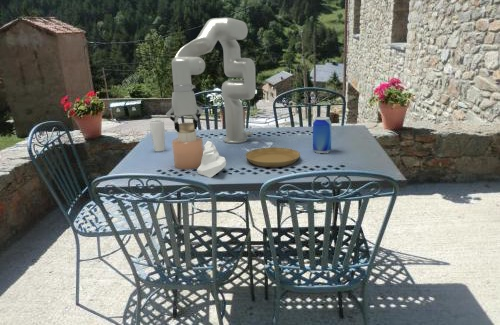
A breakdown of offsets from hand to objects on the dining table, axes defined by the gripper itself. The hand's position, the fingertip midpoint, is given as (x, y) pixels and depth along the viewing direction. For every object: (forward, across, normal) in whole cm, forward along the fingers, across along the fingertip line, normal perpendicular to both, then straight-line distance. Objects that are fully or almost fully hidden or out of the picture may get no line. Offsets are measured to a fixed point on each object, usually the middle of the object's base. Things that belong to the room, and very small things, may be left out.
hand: (186, 129), depth 183 cm
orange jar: (+16, 0, 0) cm, 16 cm away
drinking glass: (+16, +8, -30) cm, 35 cm away
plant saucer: (+16, -35, +12) cm, 40 cm away
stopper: (+4, 0, 0) cm, 4 cm away
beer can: (+16, -61, +10) cm, 64 cm away
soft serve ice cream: (+16, -6, +16) cm, 23 cm away
